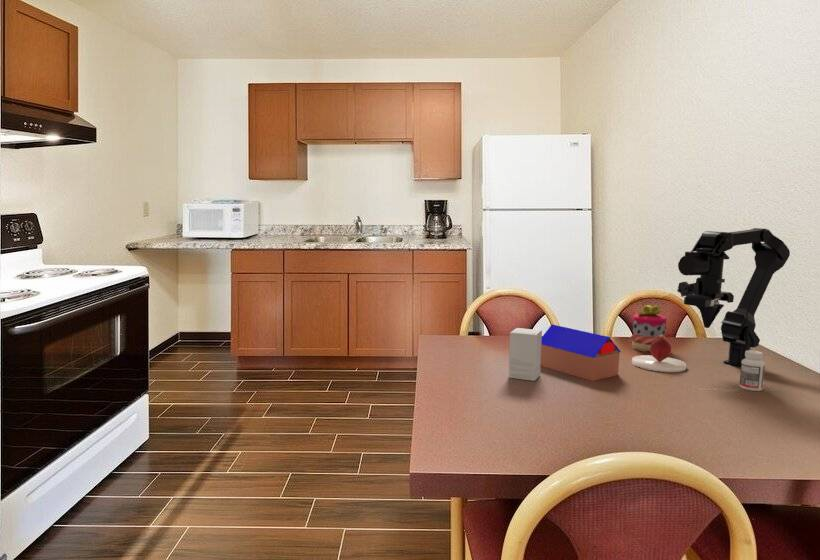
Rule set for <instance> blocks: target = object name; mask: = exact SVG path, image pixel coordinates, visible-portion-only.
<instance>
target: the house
mask: <svg viewBox="0 0 820 560" xmlns="http://www.w3.org/2000/svg"><path fill="white" fill-rule="evenodd" d="M620 353H622V351H621V350H620V349H619V347H618V346H617V345H616V344H615V342H614V341H613V340H612V339H611V337H610V336H606V335H602V334H598V333H592V332H588V331H584V330H581V329H580V330H579V329H574V328H569V327H566V326H561V325H557V324H551V325H550V326H548V329H547V330H546V331H545V332H544V334H543V335H542V343H541V366H540V367H545V368H547V369H551V370H555V371H558V372H561V373H564V374H567V375H572V376H574V377H578V378H581V379H584V380H588V381H591V382H593V381H598V380H603V379H606V378H610V377H615V376H618V375H619V368H620V367H619V365H620Z"/></svg>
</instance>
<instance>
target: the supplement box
mask: <svg viewBox="0 0 820 560" xmlns="http://www.w3.org/2000/svg"><path fill="white" fill-rule="evenodd" d="M542 334H543V331H542V329H533V328H532V329H531V328H523V327H521V328H520V327H516V328H514V329H513V330H511V331H510V332H509V347H508V348H509V351H508V378H510V379H517V380H522V381H523V380H525V381H532V382H535V381H536V380H537V379H538V378H539V377H540V375H541V367H542V366H541V343H542V336H543V335H542Z"/></svg>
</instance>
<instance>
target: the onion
mask: <svg viewBox="0 0 820 560" xmlns="http://www.w3.org/2000/svg"><path fill="white" fill-rule="evenodd" d="M664 336H665V335H664ZM664 336H663V335H660V337H659V338H658V339H656V340H654V341H653V342H652V344H651V346H650V352H649V353H651V355H652V356H653V357H654V358H655V359H656V360H657V361H662V360H664V359H666V358H667V357H670V355H671V353H672V347H671V346H672V345H671V344H670V342H669V341H668V340H667V338H666V339H664Z"/></svg>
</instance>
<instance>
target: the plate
mask: <svg viewBox="0 0 820 560" xmlns="http://www.w3.org/2000/svg"><path fill="white" fill-rule="evenodd" d="M631 364H632V365H633V366H635V367H637V368H639V367H640V369H643V370H647V371H652V370H653V372H658V371H659V372H660V373H681V372H684V371H686V370H687V365H688V364H687V363H686V362H685V361H683V360H680V359H679V358H678V359H677V358H674V357H670V356H668V357H667V358H666V359H664V360H662V361H657V360H656V359H655V358H654V357H653V356H652V354H651V355H648V354H647V355H645V354H644V355H641V354H640V355H635V356H632V358H631ZM659 372H658V373H659Z"/></svg>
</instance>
